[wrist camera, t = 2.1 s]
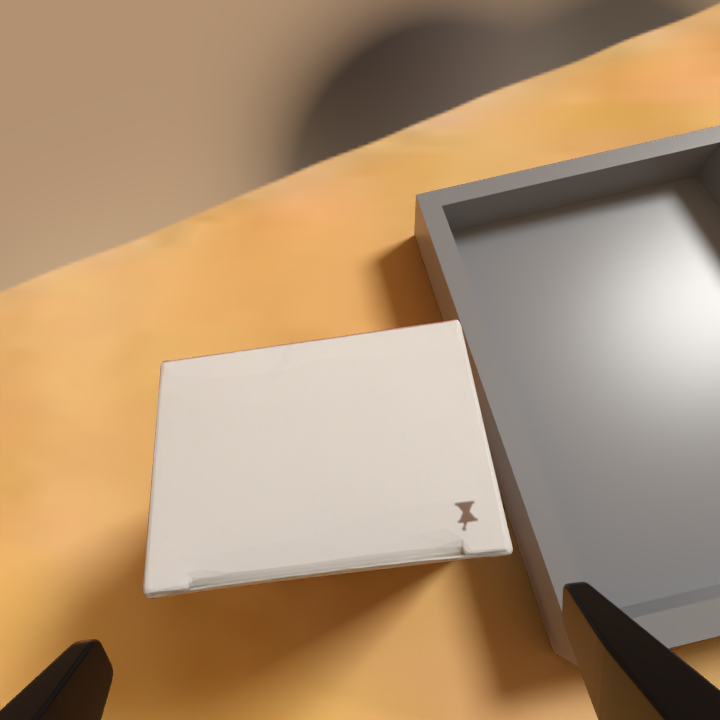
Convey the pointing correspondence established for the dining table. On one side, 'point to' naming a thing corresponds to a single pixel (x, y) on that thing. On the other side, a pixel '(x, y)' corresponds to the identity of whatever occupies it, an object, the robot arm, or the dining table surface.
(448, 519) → the small box
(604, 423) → the tray
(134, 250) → the dining table surface
